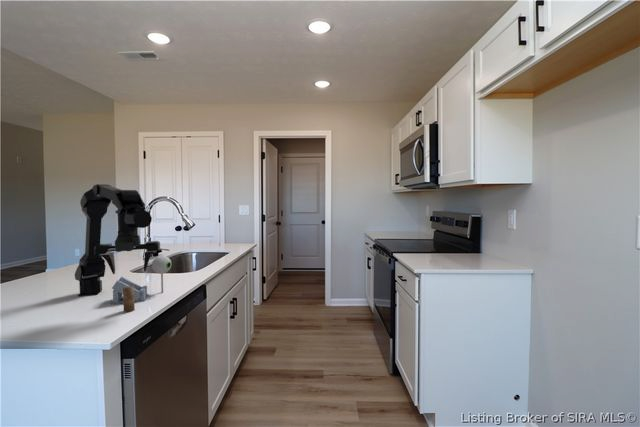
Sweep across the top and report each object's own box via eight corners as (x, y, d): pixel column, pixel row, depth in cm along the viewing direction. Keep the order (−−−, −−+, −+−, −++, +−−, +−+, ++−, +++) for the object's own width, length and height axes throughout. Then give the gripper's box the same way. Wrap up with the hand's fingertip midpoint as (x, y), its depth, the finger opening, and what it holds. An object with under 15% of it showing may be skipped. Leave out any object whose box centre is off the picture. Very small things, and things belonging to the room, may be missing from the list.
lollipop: (164, 295, 126) (163, 257, 125) (148, 294, 127) (147, 257, 127) (175, 290, 133) (174, 254, 132) (160, 289, 134) (159, 253, 133)
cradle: (110, 304, 116) (109, 281, 115) (115, 298, 123) (114, 276, 122) (145, 301, 119) (144, 278, 119) (148, 295, 126) (147, 274, 126)
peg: (122, 312, 108) (121, 289, 107) (124, 309, 111) (124, 286, 110) (133, 311, 109) (132, 288, 108) (135, 308, 112) (134, 285, 111)
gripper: (87, 230, 98) (89, 280, 98) (155, 227, 104) (157, 274, 105) (98, 227, 108) (100, 273, 109) (159, 225, 115) (161, 268, 115)
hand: (129, 272), depth 109 cm, fingers open, 9 cm apart
